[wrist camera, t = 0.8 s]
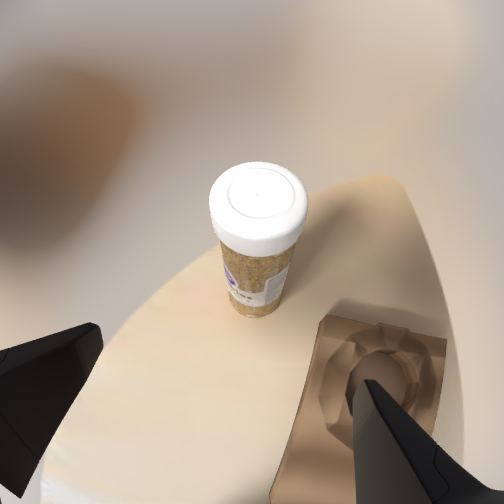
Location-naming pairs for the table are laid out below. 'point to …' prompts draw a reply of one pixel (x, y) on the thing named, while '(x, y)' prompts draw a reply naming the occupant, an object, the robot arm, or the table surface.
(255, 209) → the sprinkles bottle
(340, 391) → the board
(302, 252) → the table surface
